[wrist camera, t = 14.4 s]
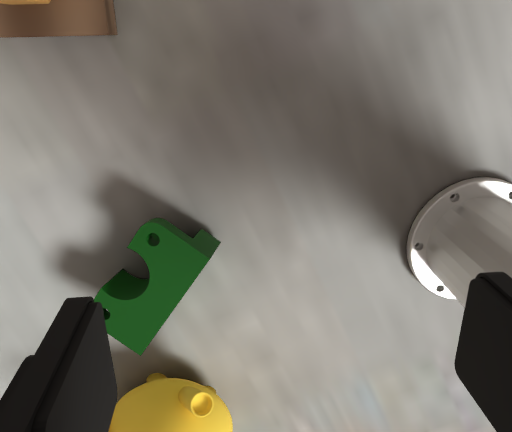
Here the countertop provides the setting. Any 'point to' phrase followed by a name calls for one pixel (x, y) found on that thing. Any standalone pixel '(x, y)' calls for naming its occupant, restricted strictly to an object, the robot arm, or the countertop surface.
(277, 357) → the countertop surface
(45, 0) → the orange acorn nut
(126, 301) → the clamp
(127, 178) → the countertop surface
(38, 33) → the post block
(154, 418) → the teapot
